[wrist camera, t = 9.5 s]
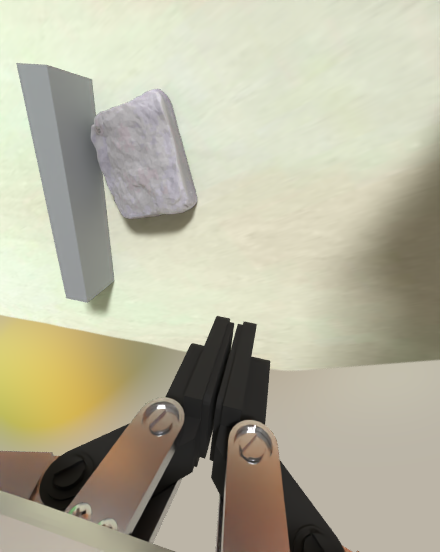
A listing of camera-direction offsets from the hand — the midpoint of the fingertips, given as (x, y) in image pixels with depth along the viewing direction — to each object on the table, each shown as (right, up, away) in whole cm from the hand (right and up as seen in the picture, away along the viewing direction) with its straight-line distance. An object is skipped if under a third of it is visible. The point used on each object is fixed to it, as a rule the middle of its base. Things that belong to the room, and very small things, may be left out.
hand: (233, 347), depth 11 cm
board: (-16, +13, +23) cm, 31 cm away
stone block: (-9, +16, +20) cm, 27 cm away
